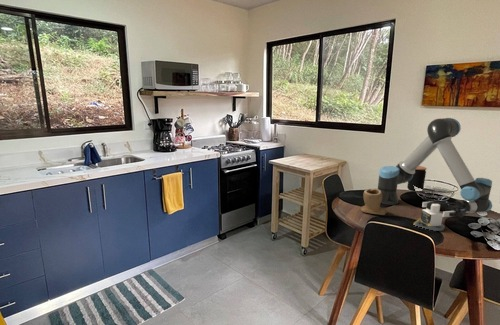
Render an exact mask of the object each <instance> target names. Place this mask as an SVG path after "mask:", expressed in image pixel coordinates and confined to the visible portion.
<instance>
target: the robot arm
mask: <svg viewBox="0 0 500 325" xmlns="http://www.w3.org/2000/svg"><path fill="white" fill-rule="evenodd" d="M461 129H462V128H461V124H460V121H458V120H457V119H456V118H453V117H445V118H436V119H433V120H432V121H431V122H429V124H428V126H427V129H426V131H427V137H426V138H424V139H423V141H422V142H421V143H420V144H419V145H418V146H417V147H416V148H415V149H414V150H413V151H412V153H410V154H409V155H408V157H407V158H406V159H405V160H404V161H399V163H397V165H396V166H395V165H394V166H393V165H386V166H382V167H380V170H379V173H378V182H377V189H378V190H380V191H381V192H382V201H381V203H382V204H383V205H389V206H391V205H398V203H399V196H398V194H397V193H398V191H397V189H398V185H401V184H405V183H408V181H410V180H411V179H412V177H413V174H414V173H415V169H416V168H417V167H418V166H421V164H423V162H424V161H425V160H426V159H428V157H429V156H431V155H432V154H433V153H434V152H435V151H436V150H438V151H439V153H440V155H441V156H442V158H443V160H444V162H445V164H446V165H447V167H448V169H449V170H450V172H451V174H452V176H453V178H454V179H455V181H456V183H457V184H458V186H459V188H460V196H461V198H462V199H458V200H455V201H454V202H449V200H440V199H439V200H438V199H437V200H436V199H429V201H422V203H421V204H422V206H421V207H422V208H427V203H428V202H436V203H438V204H440V208H444V209H446V210H445V211H444V210H443V211H442V214H443V217H442V218H447V217H448V218H449V217H458V218H460V219H461V218H463V217H465V216H466V215H468V214H472V213H473V214H474V213H484V212H489V211H491V210H492V208H493V204H492V201H491V200H490V195H491V190H492V185H493V181H492V180H491V179H489V178H484V177H476V178H474V177H473V175H472V173H471V171H470V170H469V168H468V166H467V165H466V163H465V162H464V160H463V158H462V156H461V154H460V152H459V151H458V149H457V147H456V146H455V144H454V143H453V141H452V138H454V137H456V136H458V135H459V133H460V132H461Z"/></svg>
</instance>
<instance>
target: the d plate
mask: <svg viewBox="0 0 500 325" xmlns="http://www.w3.org/2000/svg"><path fill="white" fill-rule="evenodd" d="M420 220H421V216H420V217H419V218H418V219H417V220H415V221H414V222H413V225H415V226H414V227H416V226H418V227H417V228H419V227H422V228H421V229H423V228H425V229H424V230H426V229H429V230H428V231H430V230H433V231H432V232H436V231H439V232H443V231H444V230H445V227H446V226H445V225H444V223H441V226H428V225H426V224H425V223H423V222H421V221H420Z"/></svg>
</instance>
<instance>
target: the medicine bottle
mask: <svg viewBox="0 0 500 325" xmlns="http://www.w3.org/2000/svg"><path fill="white" fill-rule="evenodd" d="M427 202H428V203H427V207H425V208H424V209H421V214H420V215H421V216H420V217H421V220H420V221H421V222H423V223H425V224H426V225H428V226H441V223H442V221H443V218H444V217H443V212H441V211H440V209H441V207H440V204H438V203H436V202H429V201H427ZM442 224H443V223H442Z"/></svg>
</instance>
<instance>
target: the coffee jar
mask: <svg viewBox="0 0 500 325" xmlns="http://www.w3.org/2000/svg"><path fill="white" fill-rule="evenodd" d="M427 169H428V168H427V167H425V166H422V165H419V166H418V167H417V168H416V169H415V173H414V174H413V177H412V179H411V180H410V181H408V182H407V186H406V187H407V190H409V191H411V192H415V189H414V186H416V187H418V188H421V189H423V190H424V187H425V183H426V182H425V180H426V176H427ZM413 185H414V186H413Z"/></svg>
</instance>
